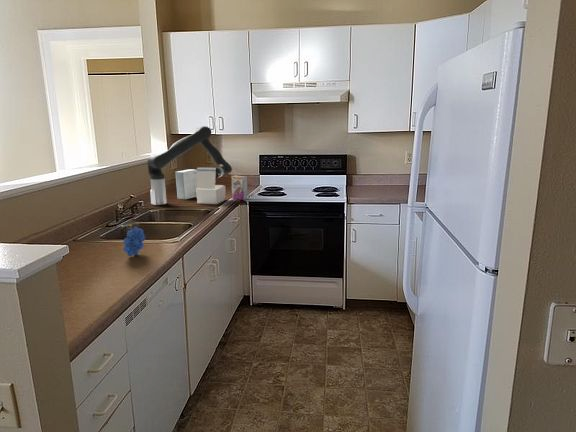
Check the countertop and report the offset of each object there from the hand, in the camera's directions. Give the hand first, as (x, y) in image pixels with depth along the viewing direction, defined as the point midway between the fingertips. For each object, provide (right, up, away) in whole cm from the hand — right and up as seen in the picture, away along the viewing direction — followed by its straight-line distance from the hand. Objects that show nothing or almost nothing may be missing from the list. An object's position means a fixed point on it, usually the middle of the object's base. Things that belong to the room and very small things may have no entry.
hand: (207, 175), depth 283 cm
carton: (+1, -17, +9) cm, 20 cm away
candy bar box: (+20, -15, +19) cm, 31 cm away
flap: (-1, -9, -1) cm, 9 cm away
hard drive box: (-19, -14, +25) cm, 35 cm away
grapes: (-11, -44, -105) cm, 114 cm away
